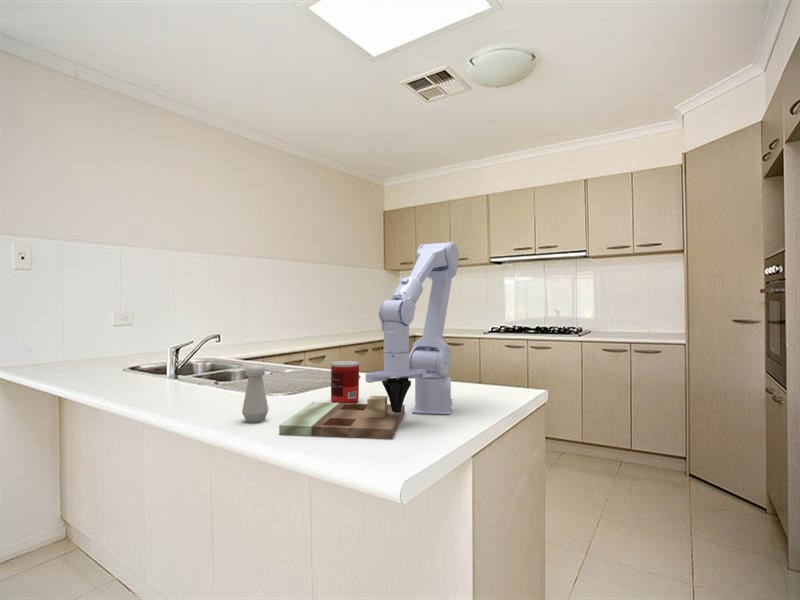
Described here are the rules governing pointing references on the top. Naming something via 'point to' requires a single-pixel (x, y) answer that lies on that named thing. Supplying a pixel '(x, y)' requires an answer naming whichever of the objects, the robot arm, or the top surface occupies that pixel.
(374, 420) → the trap deck
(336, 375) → the canned food
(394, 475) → the top surface
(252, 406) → the salt shaker
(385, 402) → the maple block
